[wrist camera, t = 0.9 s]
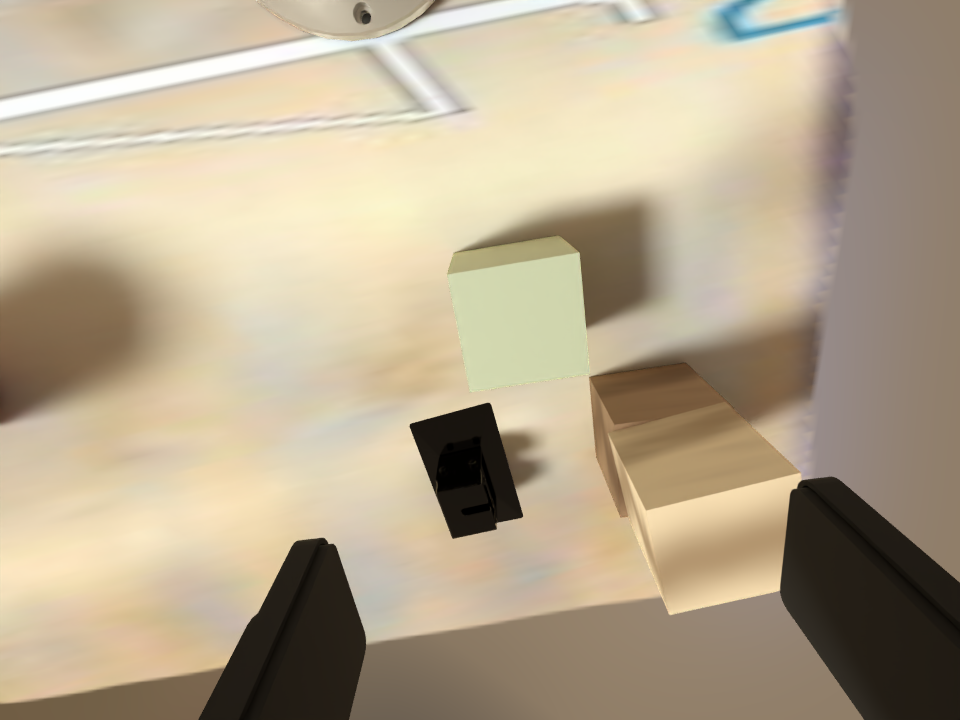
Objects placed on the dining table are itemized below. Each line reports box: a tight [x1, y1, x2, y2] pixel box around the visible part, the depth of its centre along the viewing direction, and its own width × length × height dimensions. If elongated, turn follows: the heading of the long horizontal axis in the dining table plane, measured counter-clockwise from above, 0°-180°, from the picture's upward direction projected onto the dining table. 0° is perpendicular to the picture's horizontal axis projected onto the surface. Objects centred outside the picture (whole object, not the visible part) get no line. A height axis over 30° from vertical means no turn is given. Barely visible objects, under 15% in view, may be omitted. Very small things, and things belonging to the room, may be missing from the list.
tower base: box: [589, 363, 734, 517], centre depth 28 cm, size 6×6×6 cm
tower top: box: [608, 402, 801, 615], centre depth 22 cm, size 6×6×6 cm
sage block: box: [447, 235, 590, 392], centre depth 25 cm, size 6×6×6 cm
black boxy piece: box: [410, 403, 523, 539], centre depth 31 cm, size 12×7×5 cm, turn 15°
